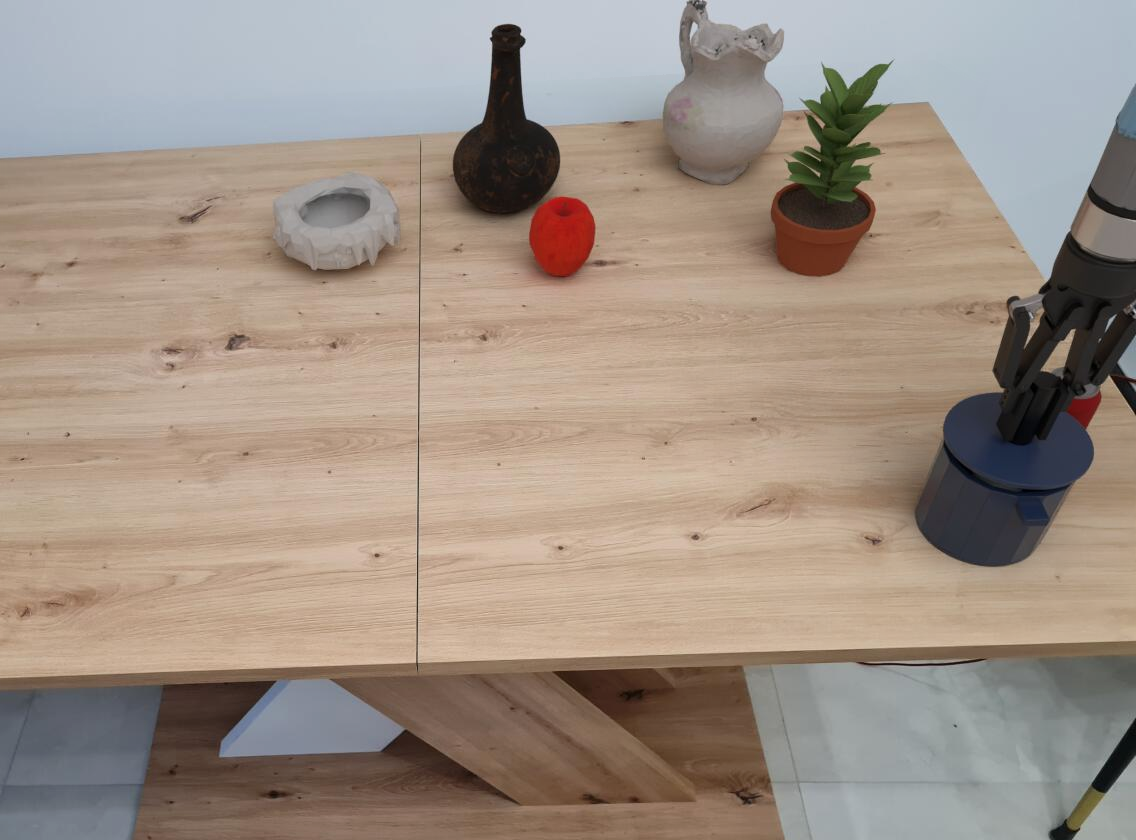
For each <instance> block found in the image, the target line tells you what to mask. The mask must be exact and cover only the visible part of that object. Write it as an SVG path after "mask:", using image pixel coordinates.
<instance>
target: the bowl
mask: <svg viewBox="0 0 1136 840" xmlns="http://www.w3.org/2000/svg"><path fill="white" fill-rule="evenodd" d="M395 201H396V200H395V199H394V197H393V195H392V193H391V191H390V189H389V188H387V187H386V186H385V185H384V184H382V183H381V182H380V181H379V180H378V179H376V178H375V177H374V176H373V177H372V176H371V175H366V174H362V173H357V172H348V171H347V172H344V173H341V174H339V175H337V176H336V177H327V178H320V179H314V180H312V181H309V182H306V183H304V184H301V185H297V186H295V187H292V188H291V189H290V190H289V191H288V192H286V193H283V194H282V195H279V196H277V197H276V198H274V199H273V204H272V205H273V206H272V213H273V218H274V223H275V228H274V230H273V235H272V239H273V240H275V242H276V246H277V247H279V248H281V249H282V251H283V253H284V254H285V255H286V256H287V257H288V258H290V259H295V260H297V261H299V262H301V263H303V264H305V265H308V266H310V268H311V270H313V271H317V269H319V270H324V271H327V270H348V269H351V268H353V267H355V266H360V265H361V264H362V263H364V262H366V261H369V264H370V266H372V267H374V265H375V263H376V260H377V258H378V253H379V252H380V251H381V250H382V249H383V248H384V247H385V246H386V245H387V244H389V245H390V246H391V247H394V246H395V243H397V244H398V245H399V246H400V245H401V243H400V242H401V218H400V212H399V206H398V204H397V203H396V202H395Z"/></svg>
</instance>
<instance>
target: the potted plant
mask: <svg viewBox="0 0 1136 840" xmlns="http://www.w3.org/2000/svg"><path fill="white" fill-rule="evenodd" d="M894 61H895V59H893V60H891V61H890V62H889V63H878V64H875V65H874V66H872V67H871V68H869V69H868V70H867V71H866V72H865V73H864V74H863V75H862V76H860V77H858V78H857V79H855V80H854V81H853V82H852V84H850V86H849V87H847V84H846V82H845V80H844V78H843V77H842V75H841V74H840V73H839V72H838V71H837V70H836V69H834V68H832V67H825V64H823V62H822V61H821V62H820V63H821V68H822V73H823V77H824V78H825V81H826V83H827V85H825V89H824V90H825V91H824V92H822V94H820V97H819V100H820V102H819V101H817V100H814V99H806V100H804V99H802V98H800V97H798V98H799V100H800V101H801V102H802V103H803V105H805V107H806V108H807V109H808V110H809V111H811V113H813V114H814V116H816V117H817V118H818V119H819V120H820V121H821V122H822V123H823V124H824V125H823V127H822V126H821V124H820V123H819V121H818V120H816V118H815V117H814V116H813V115H811V114H808V113H806V111H805V110H802V111H803V113H804V115H805V116H806V121H807V125H808V128H809V129H810V131H811V133H812V135H813V136H814V138H815V139H816V141H817V142H818V144H819V145H820V148H819V150H817V149H816V148H814V147H811V146H809V145H805V146H803V147H802V148H801V149H802V150H804V151H805V152H804V151H797V150H796V151H794V152H793V153H792V154H791V153H788V152H786V154H787V155H789V156H790V157H791V158H793V159H795V160H796V161H788V160H787V159H785V158H783V160H784V162H785V163H786V165H787V169H788V171H789V173H791V174H790V175H789V176H788V178H784V180H785V181H790V182H792V183H789V184H788V185H785V186H783V187H782V188H781V189H780V190H778V191H777V192H776V193H775V195H774V197H773V199H772V202H771V208H770V220H771V222H772V224H774V233H775V234H774V235H775V245H776V246H775V247H776V256H777V261H778V262H779V263H780V265H781V266H782V267H784V268H785V269H786V270H788V271H790V272H793V273H795V274H796V275H800V276H805V277H806V276H807V277H824V276H830V275H833V274H835V273H839V272H840V271H841V270H842V269H843V268H844V267H845V266H846V264H847V262H848V260H849V259H850V257H851V255H852V254H853V253H854V251H855V249H856V248H857V246H858V244H859V243H860V240H861V239H862V238H863V236H864V235H866V234H867V233H868V232H869V231H870V230H871V227H872V225H873V223H874V218H875V216H876V212H877V208H876V204H875V202H874V200H873V199H872V198H871V197H870V196H869V194H868V193H866V192H865V191H863V190H861V189H859V188H858V187H857V186H858V185H859V184H861V183H862V182H868V181H873V179H872V176H873V175H872V174H871V173H870V171H871V170H870V168H871V167H872V166H873V165H874V164H875V161H874V162H871V163H870V164H868V165H863V164H857V165H856V164H855V162H856V161H858V160H862V159H867V158H872V157H877V156H881V155H885V154H886V152H882V150H881V149H880V148H879V147H877V146H876V147H874V146H871V145H872V143H871V142H870V141H865V142H862V143H858V144H857V143H856V142H855V143H854V144H853V145H852V146H849V145H850V144H851V143H852V142H853V141H854V139H855V138H856V137H858V135H859V134H860V133H861V132H863V130H864V129H865V128H866V127H867V126H868V125H869V124H870V123H871V122H872V121H874V120H876V119H877V118H878V117H880V116H881V115H882V114H883V113H884V112H885V111H886V110H887V109H888V108H889V107H890V106H891V105H892V104H893V103H894V102H890V103H888V104H887V105H883V104H882V103H879V104H872V105H870V106H865V105H866V104H867V102H868V101H869V100H870V99H871V98H872V97H873V95H874V93H875V90H876V88H877V86H878V84H879V80H880V79H881V78H882V76H883V75H884V74H885V73H887V71H888V70H889V68H890V66H891V65H892V64H893V62H894ZM828 87H829V88H828ZM864 106H865V107H864ZM856 144H857V145H856ZM870 146H871V147H870ZM854 164H855V165H854ZM816 172H817V173H818V174H819V175H818V174H817V173H816Z"/></svg>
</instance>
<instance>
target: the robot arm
mask: <svg viewBox="0 0 1136 840" xmlns="http://www.w3.org/2000/svg"><path fill="white" fill-rule="evenodd" d="M1069 228H1070V230H1069V231H1068V232H1067V233H1066V235H1065V237H1064V239H1063V241H1062V243H1061V247H1059V251H1058V253H1057V255H1056V257H1055V259H1054V262H1053V264H1052V269H1051V273H1050V277H1049V278H1048V280H1047V281H1046V282H1045V283H1044V284H1043V285H1041V287H1040V288H1039V289H1038V291H1037V294H1034V295H1030V296H1028V297H1025V298H1022V299H1021V298H1020V296H1019V295H1012V296H1010V297H1009V298H1007V300H1006V309H1007V313H1008V317H1007V321H1006V324H1005V327H1004V330H1003V333H1002V336H1001V340H1000V343H999V346H998V350H997V353H996V357H995V359H994V363H993V366H992V369H991V370H992V373H993V376H994V378H995V379H996V382H997V383H998V386H999V387H1000V389H1004V390H1003V391H1002V392H1003V394H1002V396H1001V398H1000V400H999V405H1000V407H1001V409H1002V412H1001V414H1000V416H999V418H998V420H997V423H996V425H997V427H998V429H999V431H1000V433H1001V435H1002V438H1003V440H1004V441H1012V439H1013V436H1014V434H1015V432H1016V430H1017V428H1018V426H1019V424H1020V422H1021V420H1022V418H1023V416H1024V414H1025V412H1026V409H1027V407H1028V405H1029V403H1030V401H1031V399H1032V397H1033V395H1034V393H1033V392H1032V390H1031V388H1030V386H1031V384H1032V383H1033V381H1034V380H1035V378H1036V377H1037V375H1038V374H1039V372H1040V371H1042V369H1043V367H1044V366H1045V364H1046V363H1047V362H1048V360H1049V358H1050V357H1051V356H1052V354H1053V352H1054V351H1055V349H1056V348H1057V347H1058V345H1059V344H1060V342H1064V341H1065V340H1066V339H1067V338H1068V337H1069V334H1070V333H1071V331H1073V330H1074V334H1073V336H1072V340H1071V343H1070V346H1069V350H1068V353H1067V355H1066V358H1065V363H1064V366H1063V367H1064V369H1063V372H1062V374H1063V376H1064V377H1063V379H1061V377H1060V376H1057V377H1058V378H1059V379H1060V381H1061V384H1060V386H1059V388H1058V390H1057V392H1056V394H1055V396H1054V398H1053V400H1052V402H1051V404H1050V406H1049V408H1048V410H1047V412H1046V414H1045V416H1044V418H1043V420H1042V422H1041V424H1040V426H1039V428H1038V430H1037V432H1036V436H1037V438H1038V440H1046V438H1047V437H1048V435H1049V433H1050V431H1051V429H1052V427H1053V425H1054V423H1055V421H1056V419H1057V417H1058V415H1059V413H1060V412H1065V411H1066V410H1067V409H1068V408H1069V407H1070V405H1071V403H1072V401H1073V399H1074V397H1075V396H1082V395H1084V394H1085V393H1086V391H1087V390H1086V389H1085V387H1084V386H1085V385H1088V384H1092V385H1094V386H1099V385H1102V384H1104V383H1105V382H1106V380H1107V379H1108V377H1109V376H1110V375H1111V373H1112V371H1113V370H1114V368H1115V367H1116V366H1117V364H1118V363H1119V361H1120V359H1121V358H1122V356H1123V355H1124V354H1125V352H1126V351H1127V349H1128V348H1129V346H1130V345H1131V343H1132V342H1133V340H1134V339H1135V337H1136V83H1134V86H1133V87H1132V88H1131V90H1130V92H1129V94H1128V96H1127V98H1126V100H1125V102H1124V103H1123V106H1122V108H1121V109H1120V111H1119V112H1118V114H1117V115H1116V118H1115V124H1114V126H1113V128H1112V130H1111V133H1110V136H1109V138H1108V141H1107V143H1106V145H1105V148H1104V151H1103V152H1102V154H1101V157H1100V159H1099V162H1098V165H1097V167H1096V169H1095V172H1094V174H1093V176H1092V178H1091V180H1090V183H1089V185H1088V186H1087V188H1086V191H1085V193H1084V196H1083V198H1082V200H1081V202H1080V205H1079V207H1078V209H1077V211H1076V214H1075V216H1074V218H1073V220H1072V222H1071V224H1070V227H1069ZM1040 309H1043V310H1044V311H1043V312H1042V314H1041V316H1040V317H1039V324H1038V326H1037V328H1036V330H1035V331H1034V332H1033V334H1032V335H1031V337H1030V339H1029V340H1028V338H1029V335H1030V331H1031V323H1033V322H1035V321H1036V316H1037V313H1038V311H1039V310H1040ZM1113 317H1114V318H1113ZM1111 319H1112V321H1111V322H1110V320H1111ZM1109 322H1110V324H1109ZM1108 324H1109V326H1108ZM1027 341H1028V342H1027Z"/></svg>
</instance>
